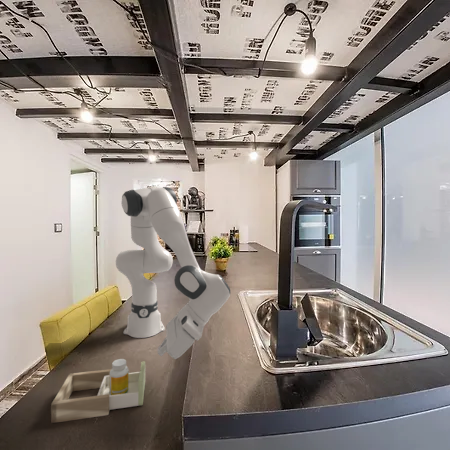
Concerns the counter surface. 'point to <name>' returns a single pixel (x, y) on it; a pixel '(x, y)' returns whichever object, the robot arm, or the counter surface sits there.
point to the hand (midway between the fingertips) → (159, 352)
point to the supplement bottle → (118, 377)
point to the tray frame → (80, 406)
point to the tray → (134, 390)
